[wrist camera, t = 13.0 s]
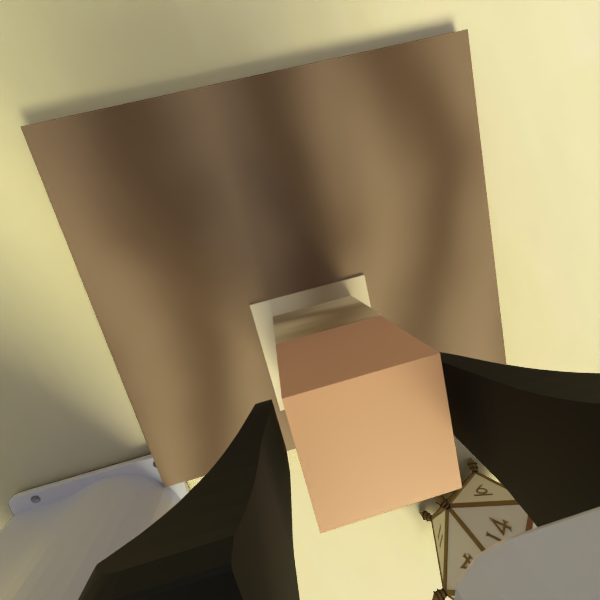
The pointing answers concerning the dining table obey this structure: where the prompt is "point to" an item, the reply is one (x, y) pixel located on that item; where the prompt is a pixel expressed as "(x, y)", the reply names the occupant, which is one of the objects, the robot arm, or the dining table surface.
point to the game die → (472, 525)
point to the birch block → (320, 318)
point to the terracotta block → (367, 420)
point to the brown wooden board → (273, 227)
